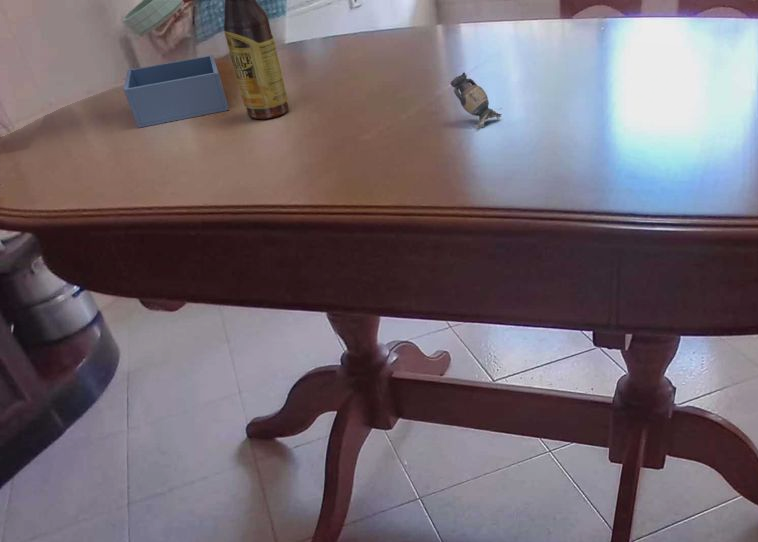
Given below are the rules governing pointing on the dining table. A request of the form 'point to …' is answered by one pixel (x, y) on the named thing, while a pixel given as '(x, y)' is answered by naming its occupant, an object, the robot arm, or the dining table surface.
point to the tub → (175, 91)
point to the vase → (473, 99)
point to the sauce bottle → (255, 59)
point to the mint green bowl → (150, 15)
